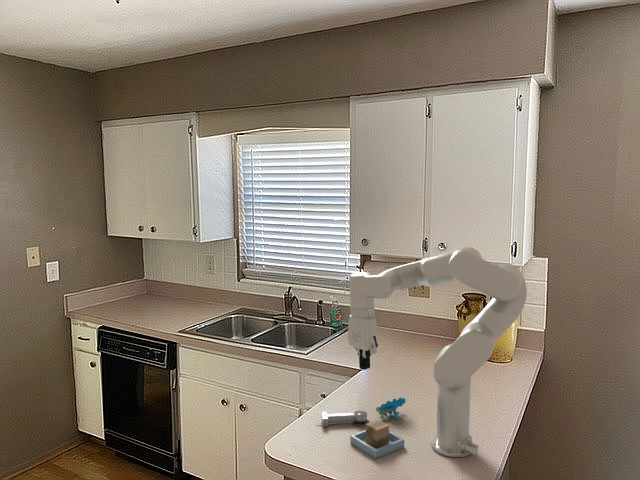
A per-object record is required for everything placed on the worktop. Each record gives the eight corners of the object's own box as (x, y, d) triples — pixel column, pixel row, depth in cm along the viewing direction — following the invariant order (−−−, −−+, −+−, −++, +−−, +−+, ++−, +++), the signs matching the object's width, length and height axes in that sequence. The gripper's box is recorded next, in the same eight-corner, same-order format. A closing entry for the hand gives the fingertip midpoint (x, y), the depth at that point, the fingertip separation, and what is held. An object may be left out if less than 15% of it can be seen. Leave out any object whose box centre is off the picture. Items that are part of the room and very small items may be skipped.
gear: (401, 403, 185) (407, 393, 178) (407, 420, 182) (414, 409, 174) (372, 412, 183) (377, 401, 175) (378, 428, 179) (383, 418, 171)
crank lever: (365, 417, 178) (365, 409, 178) (368, 424, 173) (368, 416, 173) (321, 419, 177) (321, 412, 176) (322, 426, 172) (322, 419, 171)
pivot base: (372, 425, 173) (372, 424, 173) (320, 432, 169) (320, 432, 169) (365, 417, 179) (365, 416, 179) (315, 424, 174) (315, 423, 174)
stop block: (389, 444, 160) (389, 425, 159) (376, 449, 157) (376, 430, 156) (377, 437, 164) (377, 419, 163) (365, 442, 161) (365, 423, 160)
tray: (404, 447, 159) (404, 439, 159) (375, 459, 152) (375, 451, 152) (378, 432, 169) (378, 424, 168) (350, 443, 162) (350, 435, 162)
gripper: (338, 310, 169) (341, 365, 171) (369, 318, 157) (371, 377, 159) (356, 306, 173) (358, 360, 175) (387, 313, 161) (389, 371, 163)
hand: (364, 368), depth 167 cm, fingers closed
